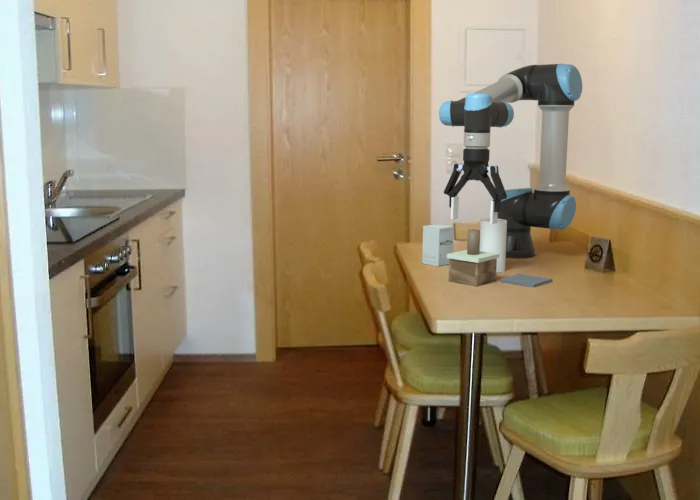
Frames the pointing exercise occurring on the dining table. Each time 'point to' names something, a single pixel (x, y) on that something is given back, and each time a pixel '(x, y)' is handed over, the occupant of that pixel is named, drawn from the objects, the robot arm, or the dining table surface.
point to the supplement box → (437, 244)
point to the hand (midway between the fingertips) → (473, 221)
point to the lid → (473, 250)
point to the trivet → (526, 280)
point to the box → (472, 272)
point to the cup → (494, 240)
